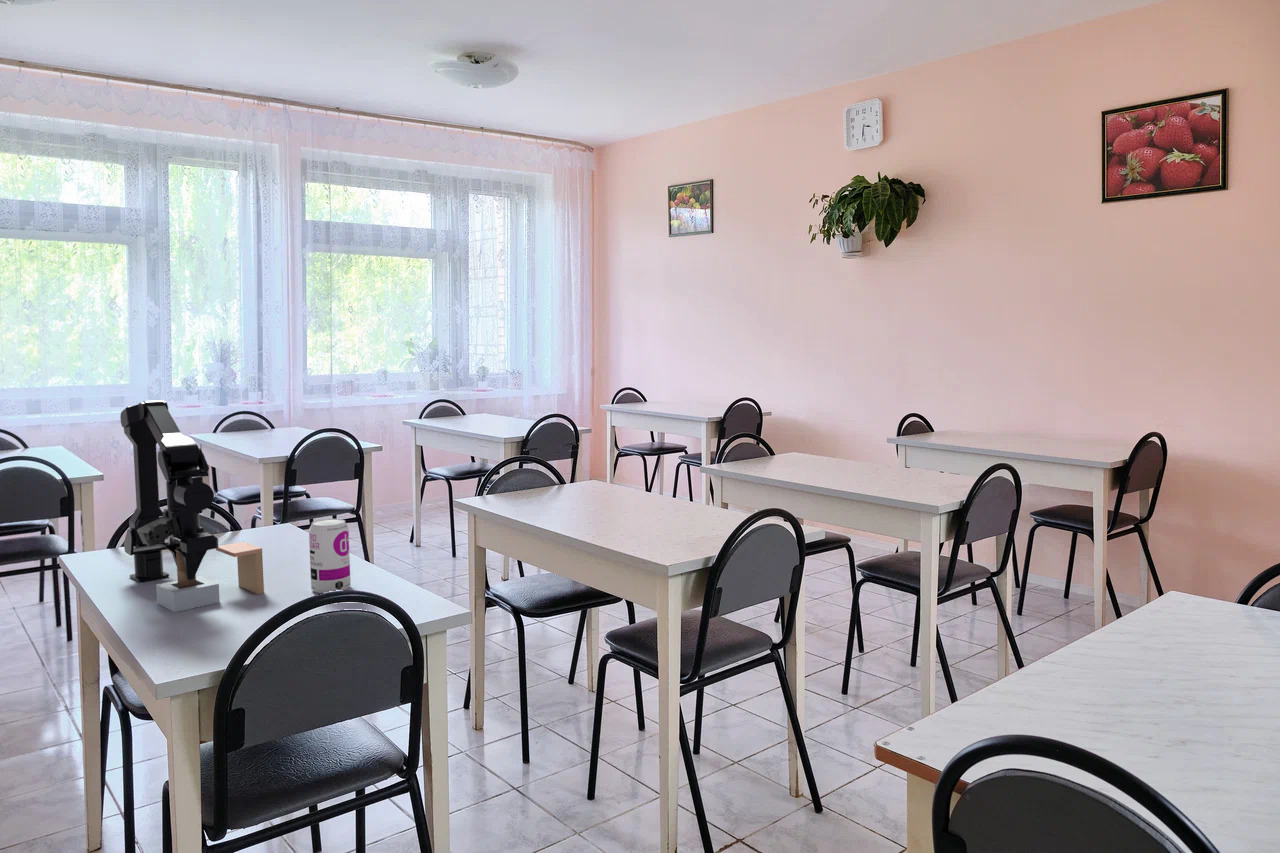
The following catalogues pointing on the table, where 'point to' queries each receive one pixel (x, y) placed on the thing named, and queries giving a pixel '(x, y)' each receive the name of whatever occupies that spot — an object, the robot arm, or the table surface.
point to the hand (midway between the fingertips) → (186, 577)
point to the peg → (183, 573)
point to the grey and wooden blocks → (209, 590)
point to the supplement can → (329, 555)
